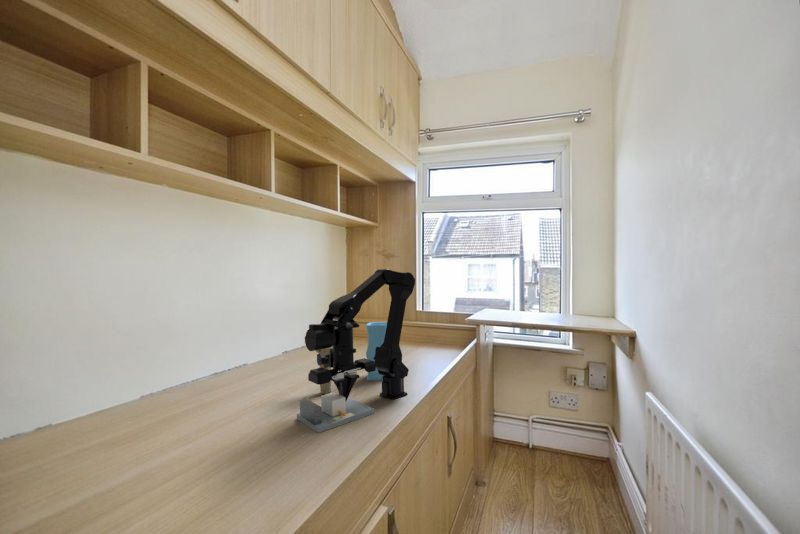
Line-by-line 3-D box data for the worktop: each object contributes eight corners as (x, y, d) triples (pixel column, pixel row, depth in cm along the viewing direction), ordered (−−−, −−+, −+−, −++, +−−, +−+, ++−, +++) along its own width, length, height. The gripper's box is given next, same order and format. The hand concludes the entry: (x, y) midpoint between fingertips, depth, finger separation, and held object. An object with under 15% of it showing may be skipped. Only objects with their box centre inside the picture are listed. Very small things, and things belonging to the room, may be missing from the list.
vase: (388, 380, 124) (386, 324, 125) (366, 380, 125) (365, 325, 125) (390, 373, 132) (388, 322, 133) (370, 374, 133) (368, 322, 133)
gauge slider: (334, 406, 96) (333, 392, 97) (351, 415, 90) (351, 400, 90) (321, 410, 94) (321, 395, 94) (338, 420, 87) (338, 404, 87)
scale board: (350, 401, 103) (350, 396, 104) (374, 413, 95) (374, 407, 95) (296, 418, 92) (296, 412, 92) (318, 433, 83) (318, 426, 83)
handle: (328, 396, 109) (327, 349, 109) (313, 393, 112) (312, 347, 112) (338, 391, 113) (337, 346, 114) (323, 389, 116) (322, 344, 117)
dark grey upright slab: (307, 414, 92) (306, 399, 92) (321, 423, 86) (321, 406, 86) (300, 416, 91) (299, 401, 91) (314, 425, 85) (314, 409, 85)
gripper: (354, 337, 108) (355, 387, 107) (298, 346, 95) (299, 403, 95) (376, 341, 100) (377, 395, 99) (318, 352, 87) (319, 414, 87)
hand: (344, 401), depth 95 cm, fingers closed
